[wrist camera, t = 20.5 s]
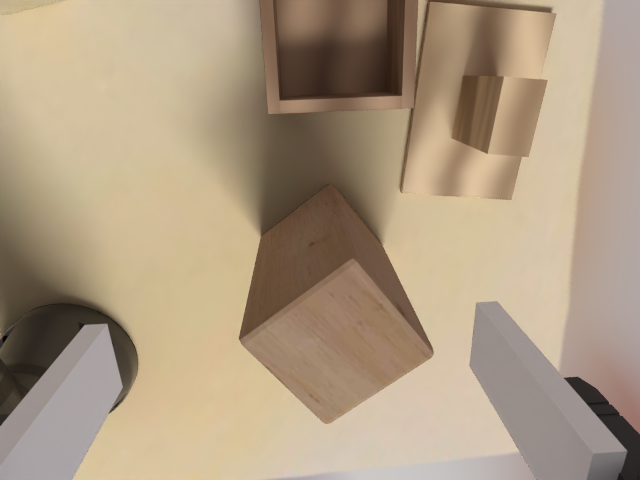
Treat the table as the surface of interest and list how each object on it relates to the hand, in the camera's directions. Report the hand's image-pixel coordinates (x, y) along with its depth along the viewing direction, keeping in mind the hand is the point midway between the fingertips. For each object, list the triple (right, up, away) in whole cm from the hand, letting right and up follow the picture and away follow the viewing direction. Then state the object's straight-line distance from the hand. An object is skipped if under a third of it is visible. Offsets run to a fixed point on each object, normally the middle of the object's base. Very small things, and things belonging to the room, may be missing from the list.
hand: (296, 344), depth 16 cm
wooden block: (+1, +4, +33) cm, 33 cm away
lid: (+16, +17, +29) cm, 37 cm away
